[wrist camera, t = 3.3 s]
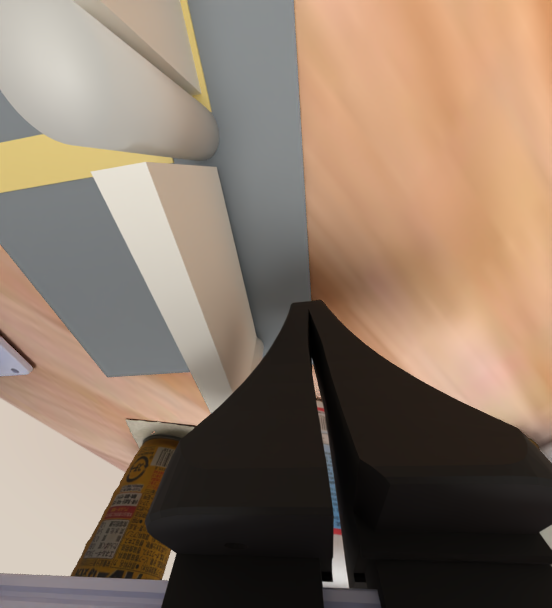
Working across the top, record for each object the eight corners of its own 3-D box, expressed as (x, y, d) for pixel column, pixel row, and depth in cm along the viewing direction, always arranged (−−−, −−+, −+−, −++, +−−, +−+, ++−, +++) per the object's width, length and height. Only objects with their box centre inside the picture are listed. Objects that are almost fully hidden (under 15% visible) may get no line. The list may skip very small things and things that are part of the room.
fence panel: (180, 173, 9) (49, 174, 4) (223, 165, 8) (142, 157, 4) (238, 357, 14) (213, 453, 9) (265, 355, 14) (254, 453, 9)
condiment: (145, 459, 24) (43, 668, 14) (126, 417, 20) (-43, 677, 10) (209, 466, 24) (154, 677, 14) (205, 425, 20) (120, 689, 10)
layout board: (111, 373, 16) (106, 378, 16) (-609, -550, 4) (-720, -640, 3) (314, 359, 15) (315, 365, 14) (212, -1328, 2) (195, -1676, 2)
